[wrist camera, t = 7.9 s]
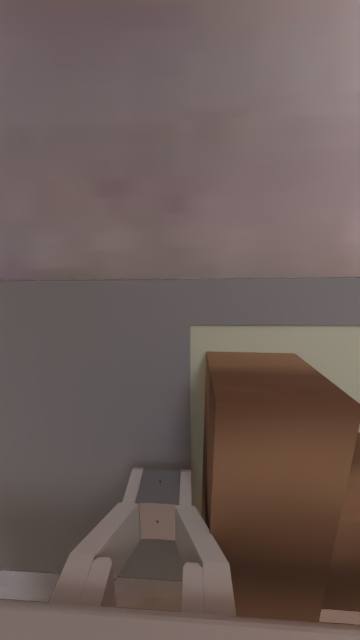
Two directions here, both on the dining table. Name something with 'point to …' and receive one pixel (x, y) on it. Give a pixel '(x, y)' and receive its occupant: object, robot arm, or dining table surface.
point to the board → (135, 392)
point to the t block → (282, 484)
